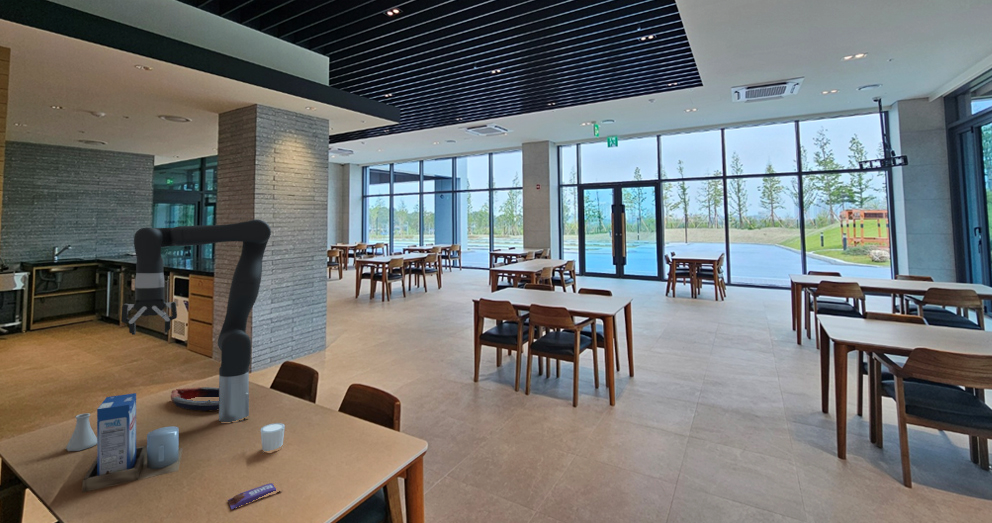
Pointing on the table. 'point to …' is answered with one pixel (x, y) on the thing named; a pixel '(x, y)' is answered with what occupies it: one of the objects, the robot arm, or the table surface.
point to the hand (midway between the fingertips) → (150, 333)
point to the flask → (82, 434)
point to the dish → (182, 395)
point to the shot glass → (272, 436)
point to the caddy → (126, 472)
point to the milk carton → (116, 434)
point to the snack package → (250, 495)
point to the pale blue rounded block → (162, 447)
